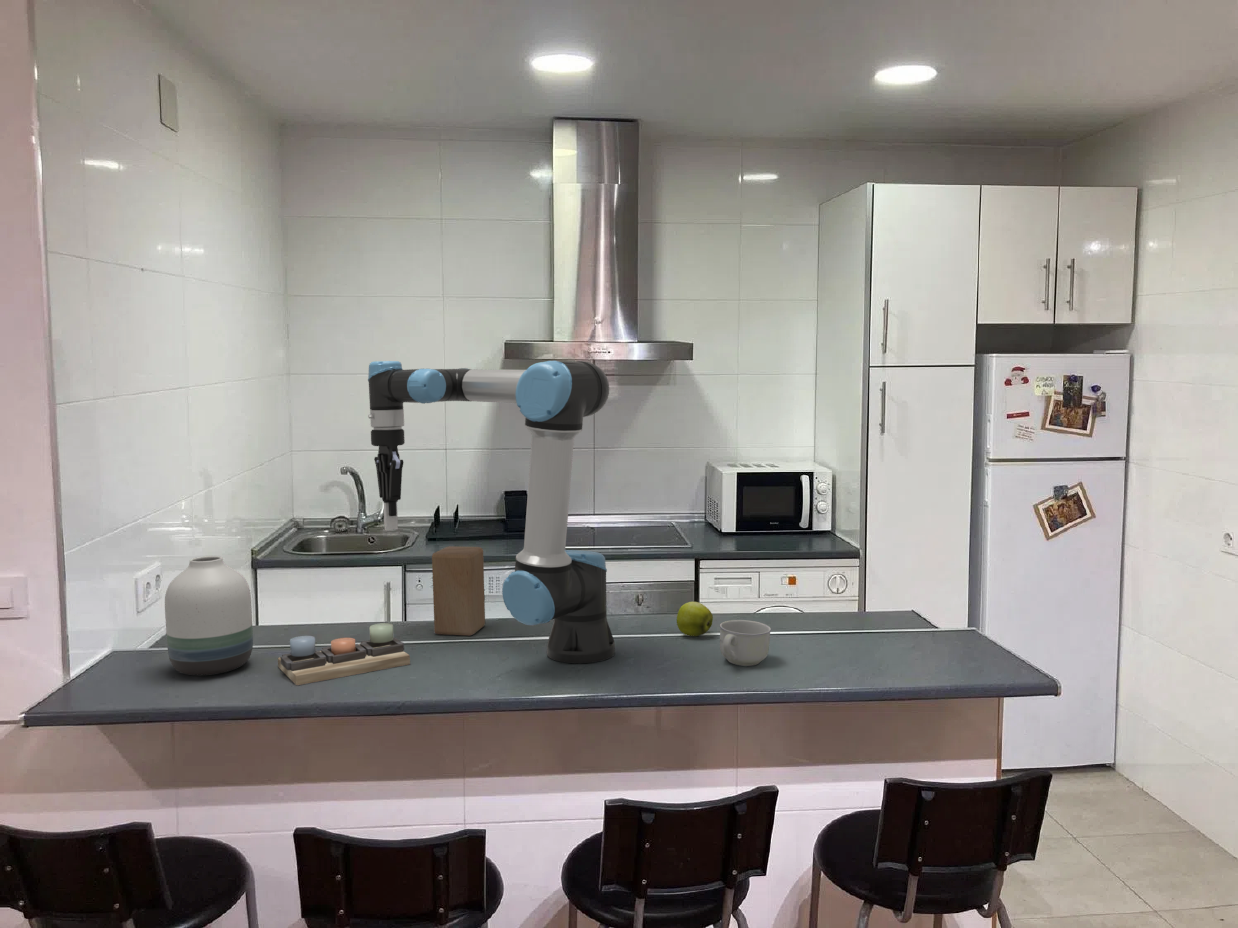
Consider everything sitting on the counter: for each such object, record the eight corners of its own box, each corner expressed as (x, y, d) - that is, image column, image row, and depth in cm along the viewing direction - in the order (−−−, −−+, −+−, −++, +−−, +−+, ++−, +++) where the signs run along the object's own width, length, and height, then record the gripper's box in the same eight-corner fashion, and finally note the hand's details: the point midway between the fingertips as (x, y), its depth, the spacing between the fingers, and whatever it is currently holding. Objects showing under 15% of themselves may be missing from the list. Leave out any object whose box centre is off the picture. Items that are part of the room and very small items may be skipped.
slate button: (318, 653, 201) (317, 639, 200) (294, 657, 198) (293, 643, 198) (311, 648, 205) (311, 634, 204) (287, 652, 202) (287, 638, 202)
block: (472, 636, 227) (470, 553, 225) (433, 635, 229) (430, 552, 227) (486, 625, 237) (484, 546, 235) (448, 624, 239) (446, 545, 237)
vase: (150, 676, 201) (143, 563, 198) (211, 654, 216) (205, 549, 214) (212, 685, 195) (206, 568, 192) (271, 661, 210) (266, 553, 208)
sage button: (396, 640, 210) (396, 626, 210) (374, 644, 207) (373, 630, 207) (388, 635, 214) (388, 622, 214) (366, 638, 211) (366, 625, 211)
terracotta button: (358, 655, 205) (358, 641, 205) (335, 659, 203) (334, 645, 202) (351, 649, 210) (350, 636, 209) (328, 653, 207) (328, 640, 207)
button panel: (412, 663, 207) (411, 648, 206) (294, 685, 193) (293, 668, 193) (388, 647, 219) (387, 632, 219) (275, 667, 206) (274, 651, 205)
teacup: (740, 651, 212) (740, 616, 212) (781, 661, 205) (781, 624, 204) (699, 665, 203) (699, 628, 202) (740, 676, 195) (740, 638, 194)
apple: (685, 629, 231) (685, 596, 231) (718, 634, 226) (718, 601, 225) (668, 636, 225) (667, 603, 224) (701, 642, 220) (701, 608, 219)
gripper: (362, 427, 224) (366, 527, 226) (381, 430, 213) (385, 534, 215) (393, 426, 228) (396, 524, 230) (413, 428, 217) (416, 531, 219)
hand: (391, 529), depth 223 cm, fingers closed
